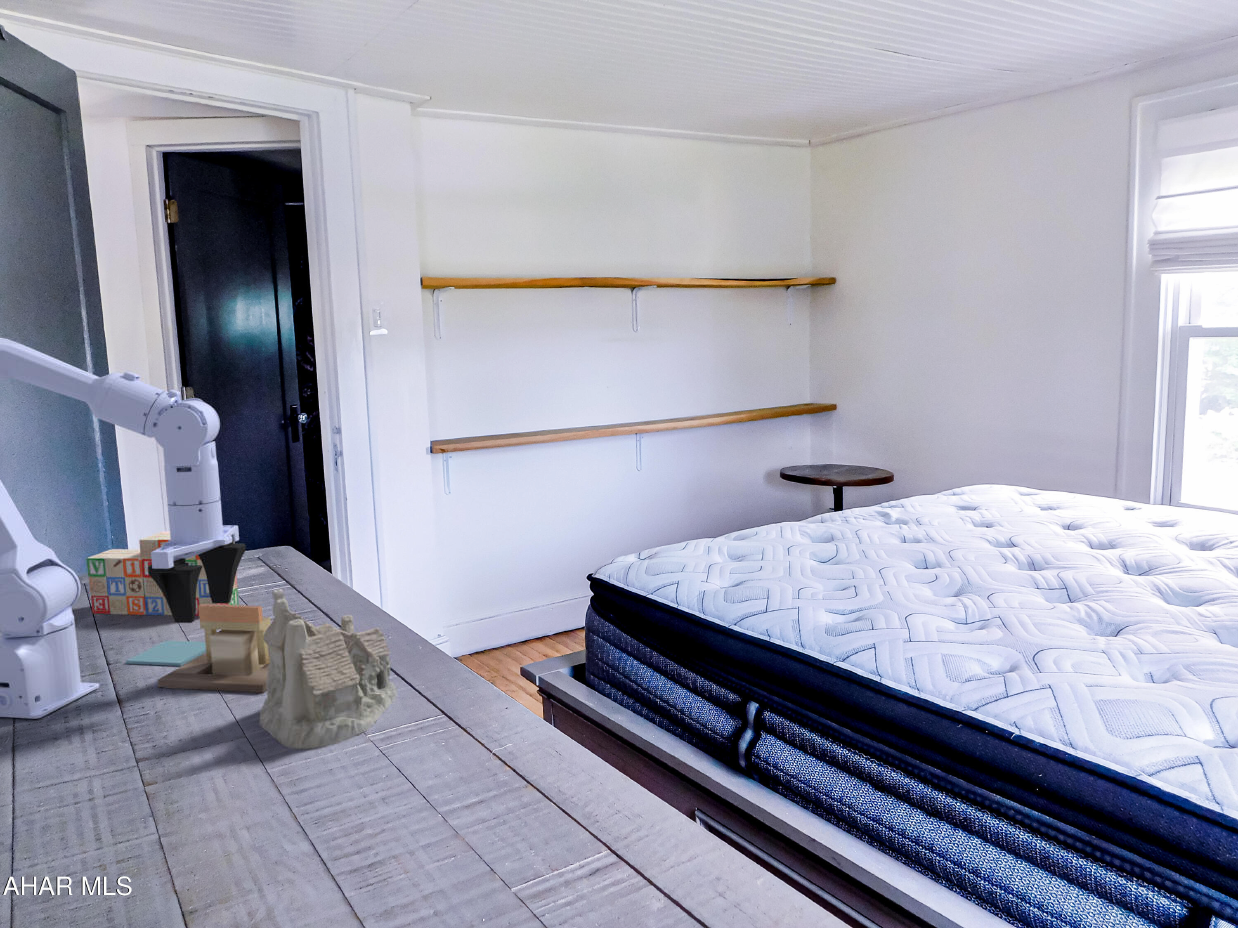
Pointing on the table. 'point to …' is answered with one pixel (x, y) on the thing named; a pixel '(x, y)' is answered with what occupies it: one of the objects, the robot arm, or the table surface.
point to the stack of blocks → (137, 581)
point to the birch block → (234, 652)
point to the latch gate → (235, 624)
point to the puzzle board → (213, 678)
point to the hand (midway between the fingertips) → (203, 612)
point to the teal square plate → (170, 653)
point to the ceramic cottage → (322, 680)
